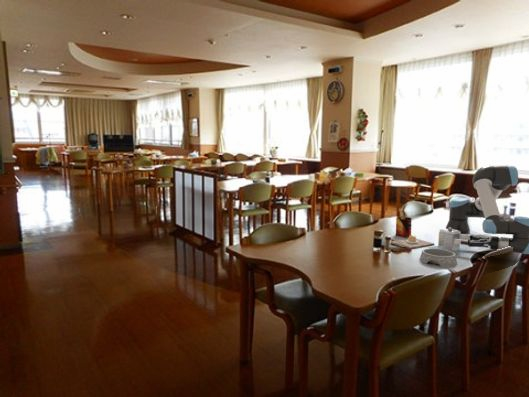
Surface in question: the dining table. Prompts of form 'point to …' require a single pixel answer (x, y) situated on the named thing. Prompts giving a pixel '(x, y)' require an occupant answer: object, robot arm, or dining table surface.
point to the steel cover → (449, 239)
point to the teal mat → (454, 252)
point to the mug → (403, 226)
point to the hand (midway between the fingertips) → (455, 238)
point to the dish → (412, 240)
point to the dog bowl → (438, 257)
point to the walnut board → (413, 246)
